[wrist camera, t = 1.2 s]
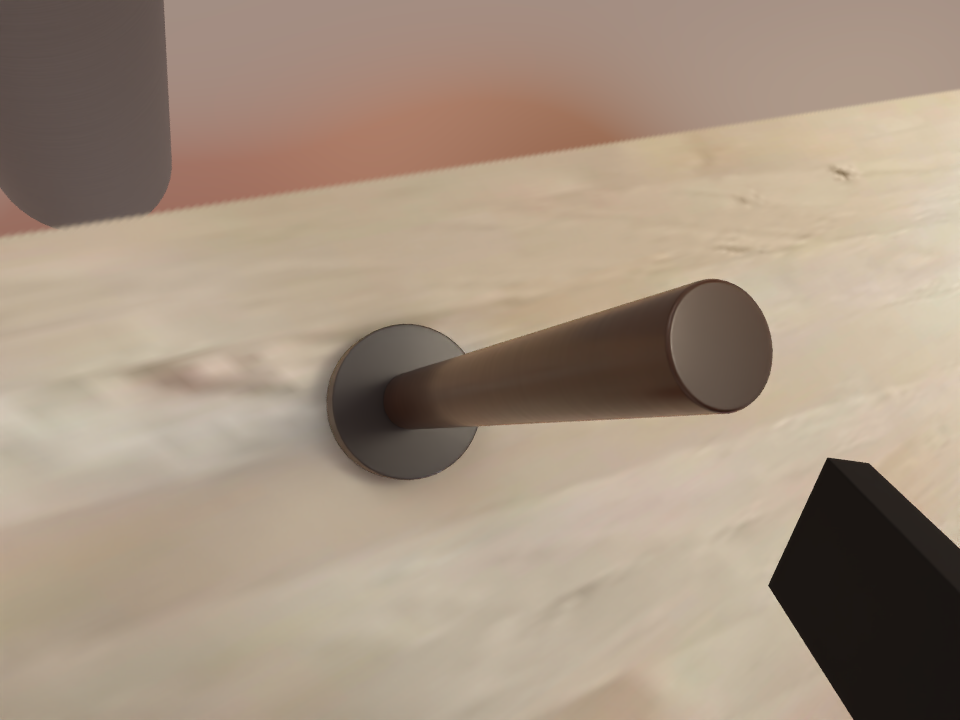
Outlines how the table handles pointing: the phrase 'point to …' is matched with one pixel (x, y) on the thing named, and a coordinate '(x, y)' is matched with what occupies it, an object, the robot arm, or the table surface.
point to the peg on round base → (547, 376)
